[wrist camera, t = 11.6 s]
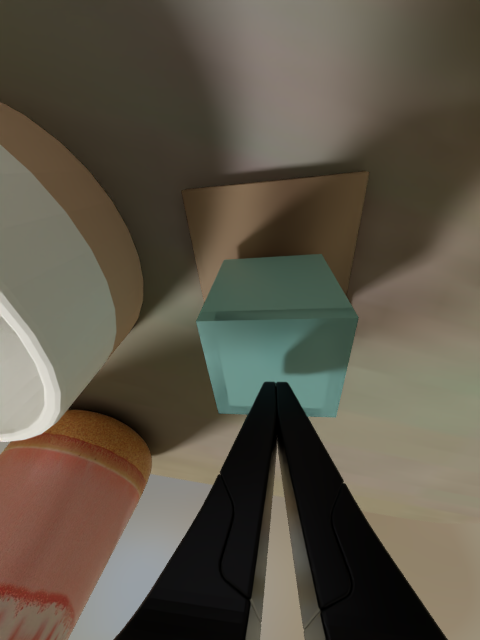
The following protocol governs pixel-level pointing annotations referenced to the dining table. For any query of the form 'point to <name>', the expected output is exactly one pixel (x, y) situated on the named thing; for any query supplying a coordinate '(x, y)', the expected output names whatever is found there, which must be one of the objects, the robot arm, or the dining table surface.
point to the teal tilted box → (277, 332)
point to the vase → (63, 518)
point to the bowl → (56, 278)
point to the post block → (276, 222)
